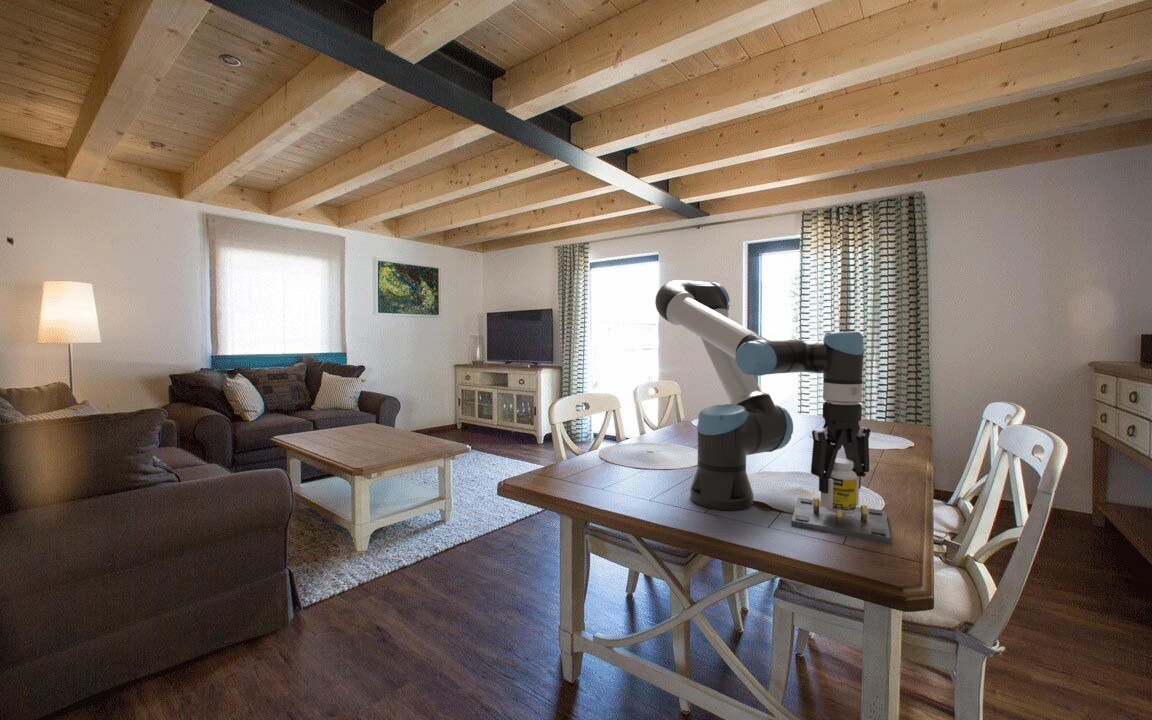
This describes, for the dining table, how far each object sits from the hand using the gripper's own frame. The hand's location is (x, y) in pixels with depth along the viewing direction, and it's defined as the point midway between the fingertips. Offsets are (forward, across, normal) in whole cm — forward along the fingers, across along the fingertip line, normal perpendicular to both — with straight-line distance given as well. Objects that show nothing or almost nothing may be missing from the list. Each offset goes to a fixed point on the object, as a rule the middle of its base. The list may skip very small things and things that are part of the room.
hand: (839, 504), depth 104 cm
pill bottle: (+1, 0, 0) cm, 1 cm away
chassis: (+4, 0, 0) cm, 4 cm away
